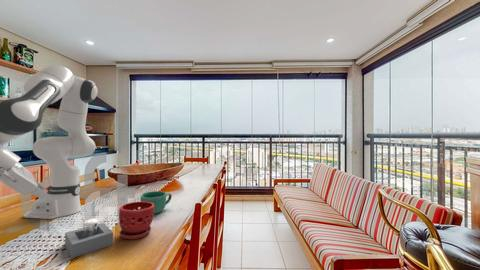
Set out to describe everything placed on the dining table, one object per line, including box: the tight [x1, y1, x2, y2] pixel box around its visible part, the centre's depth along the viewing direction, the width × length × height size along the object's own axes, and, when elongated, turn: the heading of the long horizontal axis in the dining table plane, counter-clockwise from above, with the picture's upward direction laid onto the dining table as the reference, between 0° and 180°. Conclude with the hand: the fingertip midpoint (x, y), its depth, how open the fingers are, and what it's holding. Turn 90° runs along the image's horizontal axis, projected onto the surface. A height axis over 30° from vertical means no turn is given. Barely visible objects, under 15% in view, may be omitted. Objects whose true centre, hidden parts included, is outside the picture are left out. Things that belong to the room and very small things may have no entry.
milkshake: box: [81, 217, 99, 238], centre depth 76 cm, size 4×5×10 cm
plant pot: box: [118, 201, 155, 240], centre depth 85 cm, size 13×13×12 cm
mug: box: [140, 190, 172, 215], centre depth 111 cm, size 17×13×10 cm
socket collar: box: [64, 222, 114, 259], centre depth 76 cm, size 12×12×4 cm
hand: (44, 193), depth 66 cm, fingers open, 8 cm apart
